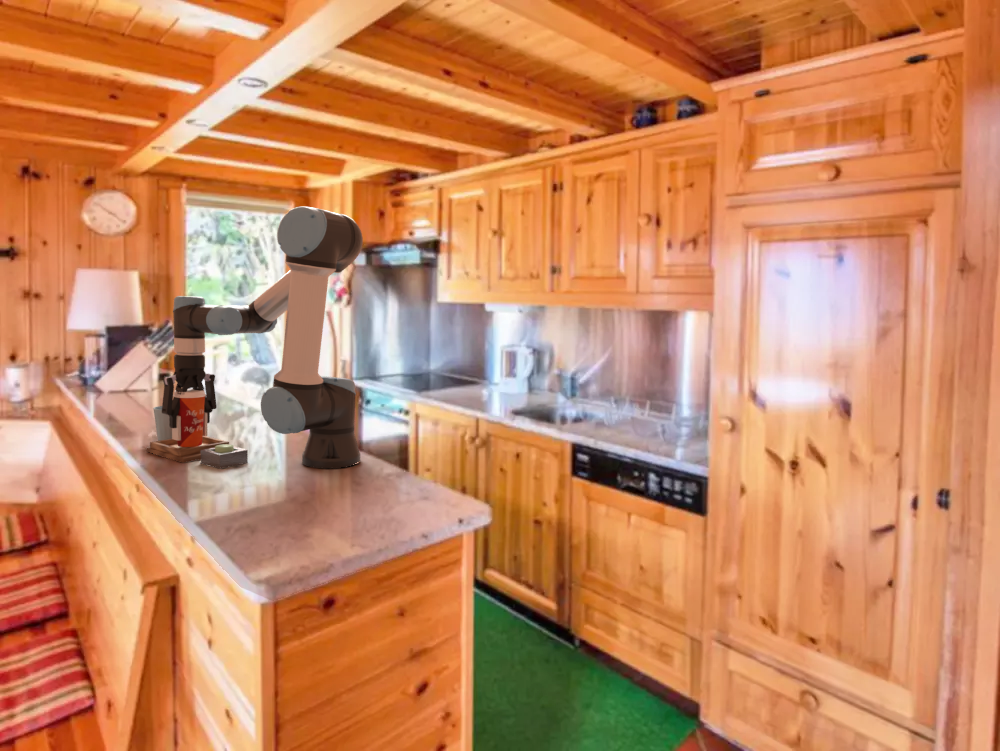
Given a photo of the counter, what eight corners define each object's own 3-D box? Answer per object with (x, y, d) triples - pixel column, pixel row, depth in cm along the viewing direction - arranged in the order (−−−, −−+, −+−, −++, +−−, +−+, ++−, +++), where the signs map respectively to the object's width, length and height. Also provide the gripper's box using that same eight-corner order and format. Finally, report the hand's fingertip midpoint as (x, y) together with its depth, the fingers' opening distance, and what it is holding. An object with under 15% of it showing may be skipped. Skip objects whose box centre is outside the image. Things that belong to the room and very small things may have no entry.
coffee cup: (193, 449, 169) (192, 393, 167) (166, 446, 170) (165, 391, 169) (213, 442, 177) (213, 389, 175) (187, 440, 179) (186, 387, 177)
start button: (237, 461, 165) (237, 446, 165) (221, 464, 161) (221, 449, 161) (226, 458, 167) (226, 443, 167) (211, 461, 164) (211, 446, 163)
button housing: (247, 462, 166) (247, 449, 165) (219, 468, 159) (219, 455, 159) (228, 457, 170) (228, 444, 170) (200, 463, 163) (200, 450, 163)
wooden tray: (235, 452, 176) (235, 442, 175) (183, 462, 163) (183, 451, 163) (198, 443, 184) (198, 433, 184) (146, 452, 172) (146, 441, 171)
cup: (150, 446, 178) (149, 409, 177) (158, 440, 186) (157, 405, 185) (179, 446, 180) (179, 409, 179) (186, 440, 188) (186, 405, 187)
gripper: (214, 351, 181) (214, 430, 184) (144, 354, 164) (146, 441, 167) (231, 353, 177) (231, 434, 180) (161, 356, 161) (162, 445, 163)
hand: (190, 437), depth 173 cm, fingers closed on coffee cup, 7 cm apart
